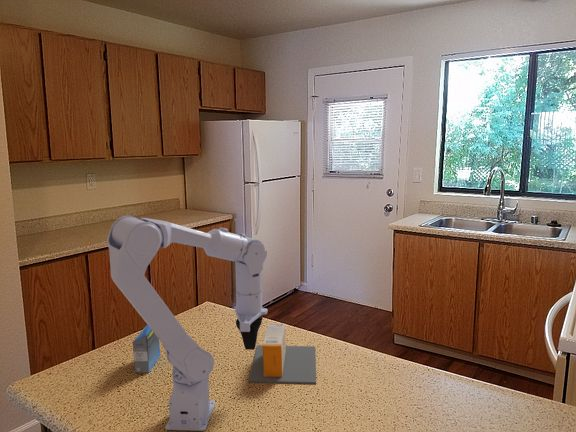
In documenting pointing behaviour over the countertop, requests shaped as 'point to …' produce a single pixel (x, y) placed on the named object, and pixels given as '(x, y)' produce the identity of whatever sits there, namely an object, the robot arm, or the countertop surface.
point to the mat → (288, 366)
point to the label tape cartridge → (145, 350)
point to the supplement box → (274, 350)
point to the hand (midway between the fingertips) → (250, 348)
